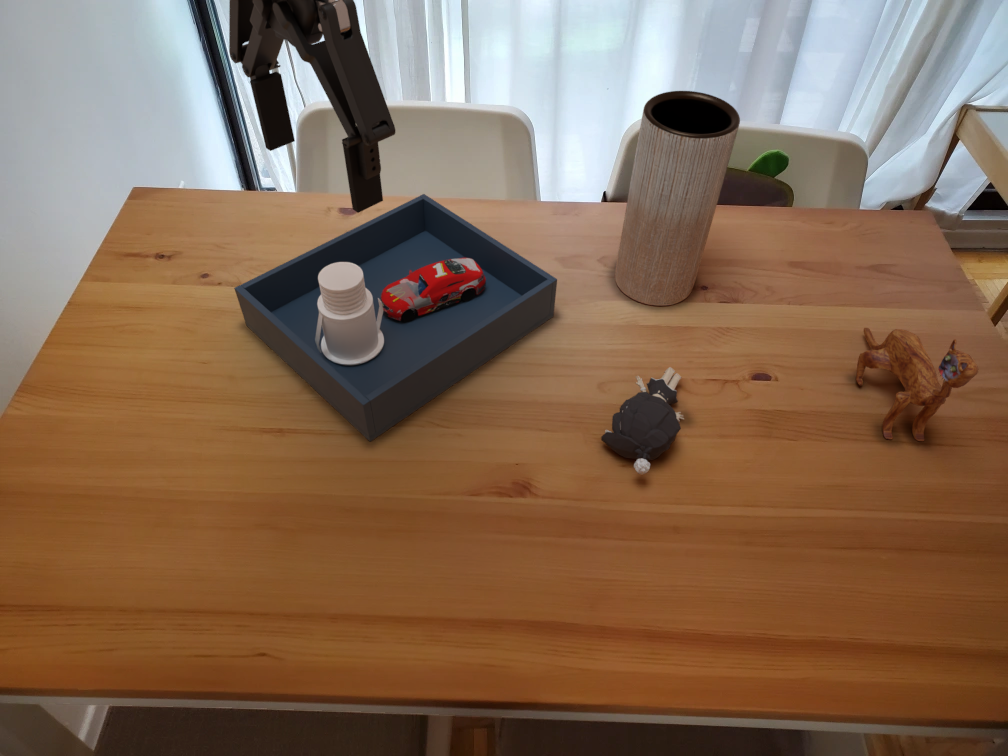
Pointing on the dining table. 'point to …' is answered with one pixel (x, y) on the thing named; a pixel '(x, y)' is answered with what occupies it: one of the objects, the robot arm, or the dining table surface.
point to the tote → (407, 345)
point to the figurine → (646, 422)
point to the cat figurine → (915, 375)
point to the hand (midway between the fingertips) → (322, 173)
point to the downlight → (347, 316)
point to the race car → (433, 288)
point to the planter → (673, 194)
